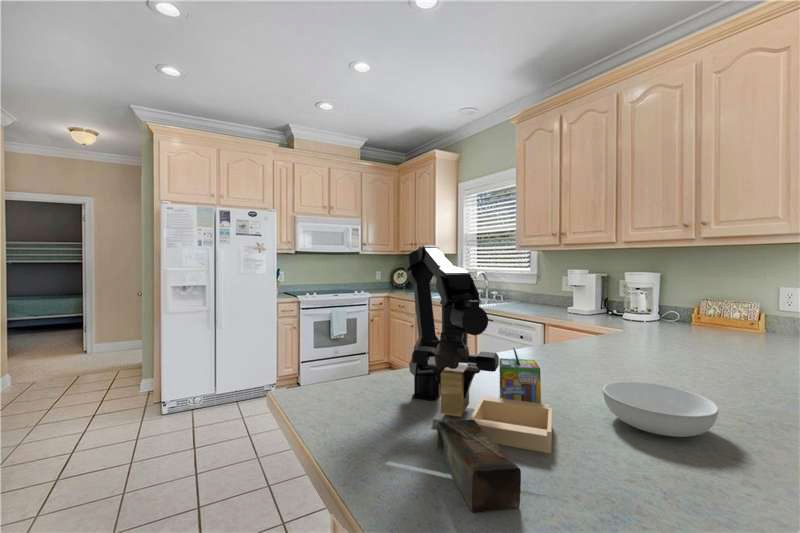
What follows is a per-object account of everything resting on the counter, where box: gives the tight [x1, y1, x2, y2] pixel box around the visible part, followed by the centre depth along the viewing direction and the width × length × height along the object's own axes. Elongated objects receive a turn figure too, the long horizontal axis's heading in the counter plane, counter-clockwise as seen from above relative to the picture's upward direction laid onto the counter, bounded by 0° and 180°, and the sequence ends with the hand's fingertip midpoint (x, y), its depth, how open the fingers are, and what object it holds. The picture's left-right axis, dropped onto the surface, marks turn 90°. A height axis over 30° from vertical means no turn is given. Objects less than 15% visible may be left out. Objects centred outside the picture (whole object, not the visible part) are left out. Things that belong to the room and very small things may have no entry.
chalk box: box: [498, 347, 542, 404], centre depth 94 cm, size 9×9×15 cm
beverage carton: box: [436, 419, 522, 513], centre depth 64 cm, size 8×19×7 cm, turn 10°
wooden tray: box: [470, 395, 553, 454], centre depth 79 cm, size 15×16×4 cm
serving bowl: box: [602, 380, 719, 438], centre depth 83 cm, size 21×21×7 cm
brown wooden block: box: [440, 363, 470, 417], centre depth 85 cm, size 8×4×9 cm, turn 157°
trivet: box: [432, 407, 475, 428], centre depth 86 cm, size 8×9×2 cm
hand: (454, 396), depth 85 cm, fingers closed on brown wooden block, 4 cm apart
